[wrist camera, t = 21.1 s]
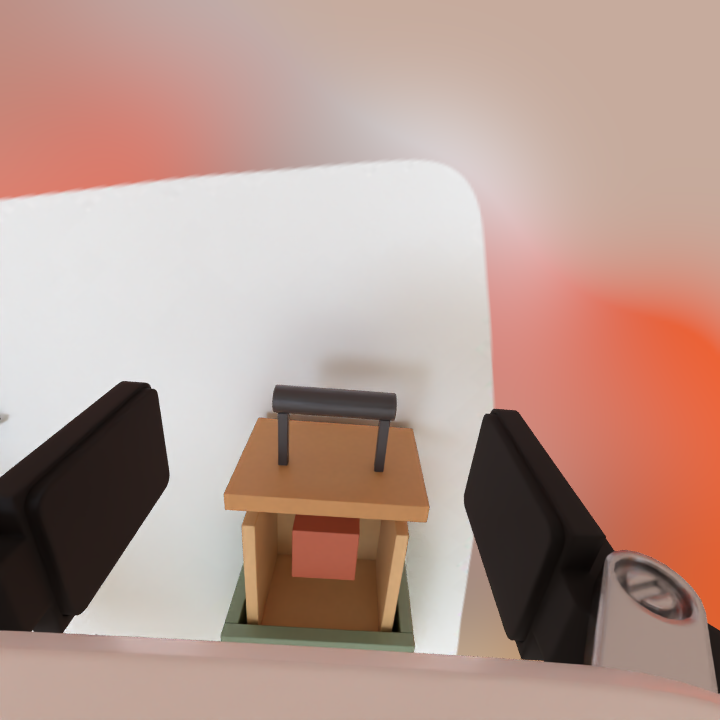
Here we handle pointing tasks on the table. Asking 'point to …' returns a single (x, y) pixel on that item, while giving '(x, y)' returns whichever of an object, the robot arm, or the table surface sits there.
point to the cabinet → (319, 637)
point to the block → (325, 547)
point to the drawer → (327, 506)
